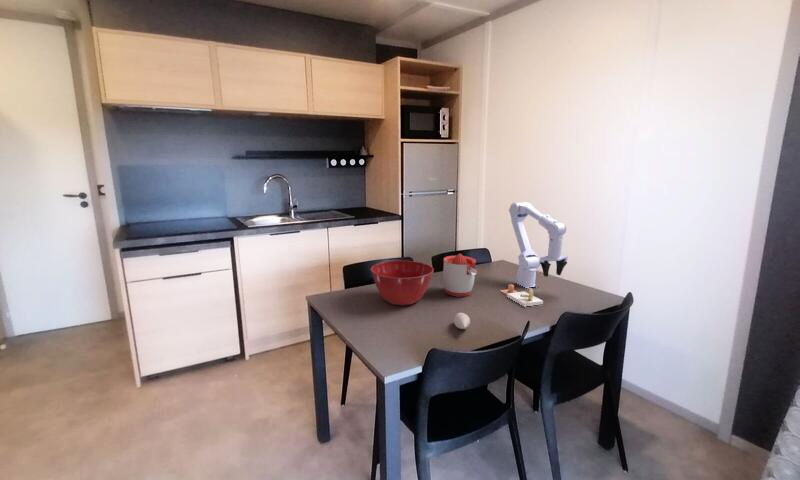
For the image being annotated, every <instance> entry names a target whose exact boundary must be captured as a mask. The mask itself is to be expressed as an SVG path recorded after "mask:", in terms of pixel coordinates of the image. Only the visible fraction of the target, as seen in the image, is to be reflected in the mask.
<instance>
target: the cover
mask: <svg viewBox="0 0 800 480" xmlns="http://www.w3.org/2000/svg"><path fill="white" fill-rule="evenodd" d="M507 287H508V288H507V289H501V290H500V291H501V292H503V293H505V294H506V295H505V294H504V295H505V296H507V293H516V292H518V291H517V290H515V285H514V284H508V286H507ZM500 291H499V292H500ZM501 292H500V293H501ZM503 293H502V294H503Z"/></svg>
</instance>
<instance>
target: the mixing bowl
mask: <svg viewBox="0 0 800 480" xmlns="http://www.w3.org/2000/svg"><path fill="white" fill-rule="evenodd" d="M434 270H435V269H434V268H433V266H432V265H430V264H428V263H427V264H426V263H424V262H419V261H413V260H389V261H384V262H379V263H375V264H373V265H372V266H371V267H370V271H371V273H372V277H373V281H374V283H375V286H376V288H377V290H378V292H379V295H380V296H381V297H382V298H383V300H384V301H386V302H387V303H389V304H391V305H395V306H410V305H413V304H415V303H417V302H418V301H420V299H422V298H423V296H424V294H425V293H426V291H427V289H428V287H429V284H430V282H431V279H432V276H433V275H432V274H433V273H434Z"/></svg>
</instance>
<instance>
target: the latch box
mask: <svg viewBox="0 0 800 480" xmlns="http://www.w3.org/2000/svg"><path fill="white" fill-rule="evenodd" d="M520 295H529V292H527V291H517V292H516V293H507V295H506V297H508V299H509V298H510V299H509V300H511V299H512V300H513V301H512V300H511V301H512V302H514V301H515V302H514V303H516V302H517V303H519V304H520V305H519V304H518V305H519V306H521V305H522V306H521V307H523V306H524V307H525V308H527V307H526V306H532V307H534V306H533V305H539V304H544V301H543V300H542V299H540V298H538V297H536V296H534V295H533V300H532V301H529V300H528V297H520ZM517 303H516V304H517ZM539 306H540V305H539ZM524 307H523V308H524Z"/></svg>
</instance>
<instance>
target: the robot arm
mask: <svg viewBox="0 0 800 480" xmlns="http://www.w3.org/2000/svg"><path fill="white" fill-rule="evenodd" d="M509 206H510V207H509V209H508V213H509V215H510V219H511V220H510V221H511V225H512V228H513V231H514V234H515V237H516V238H515V239H516V241H517V244H518V247H519V250H520V253H519V255H518V256H517V257H518V266H519V268H518V269H517V272H516V281H515V282H514V284H516V283H517V284H516V285H518V284H519V285H518V286H520V285H521V286H520V287H522V286H523V287H522V288H524V287H525V288H524V289H526V288H527V289H529V287H534V286H535V285H536V277H537V276H536V275H537V271H538V268H539V267H540V266H541V269H542V275H543V277H545V278H547V277H548V276H549V270H550V267H551V265H552V264H551V263H550V262H555V263H556V269H555V270H556V275H558V276H561V275H562V272H563V270H564V268H565V267H566V265H568V256H567V255H561V254H562V247H563V238H564V237H563V236H564V235H565V233H566V232H567V226H566V224H565V223H564V222H558V221H557V219H554V218H552V217H551V215H550V214H542V213H541V212H540V211H538V209H536V208H535V207H534V206H533V205H532V203H530V202H529V201H528V202H527V201H525V202H512V203H511V204H510V205H509ZM528 216H530V217H532V218H533V219H535V220H537V221H538V224H539V226H541V227H542V228H543V229H545V230H546V231H547V233H548V238H549V239H548V240H549V241H548V249H547V251H548V252H547V255H546V256H541V257H539V255H538V254H537V252H536V251H534V250H533V249H532V247H531V244H530V243H531V242H530V240H529V237H528V235H527V231H526V228H525V224H524V220H525V219H526V218H527V217H528Z"/></svg>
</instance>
